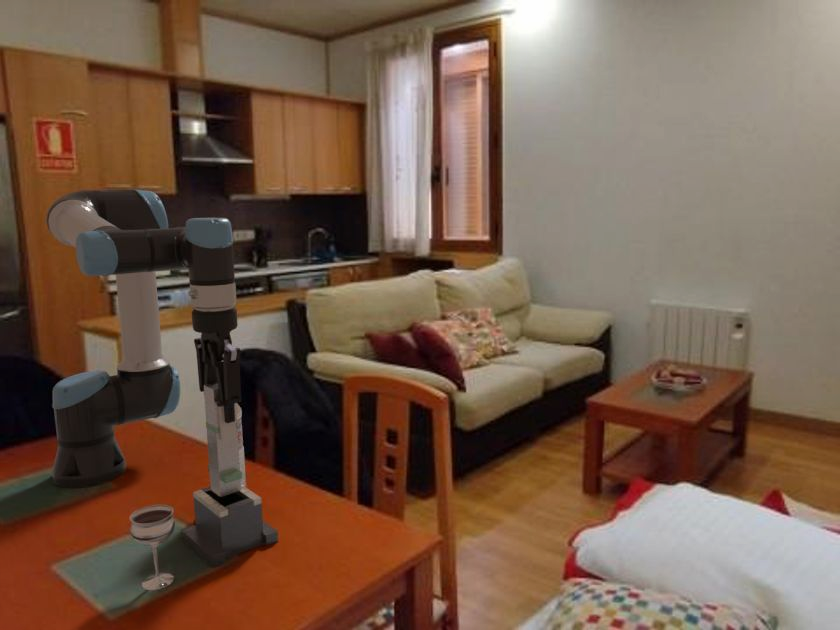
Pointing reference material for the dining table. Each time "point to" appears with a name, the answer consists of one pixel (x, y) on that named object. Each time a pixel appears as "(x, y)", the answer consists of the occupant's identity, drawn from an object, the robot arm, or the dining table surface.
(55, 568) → the dining table surface
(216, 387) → the column
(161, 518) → the wineglass
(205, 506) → the sleeve
